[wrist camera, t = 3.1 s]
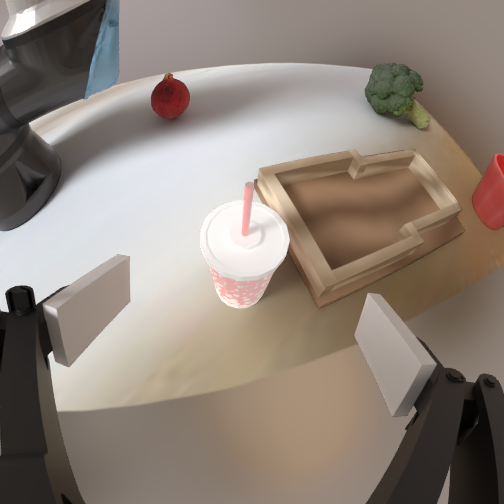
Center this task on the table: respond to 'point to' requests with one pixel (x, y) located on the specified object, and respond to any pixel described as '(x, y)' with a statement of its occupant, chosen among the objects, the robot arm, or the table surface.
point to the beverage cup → (243, 248)
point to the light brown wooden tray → (358, 216)
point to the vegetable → (396, 92)
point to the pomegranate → (170, 97)
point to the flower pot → (491, 194)
